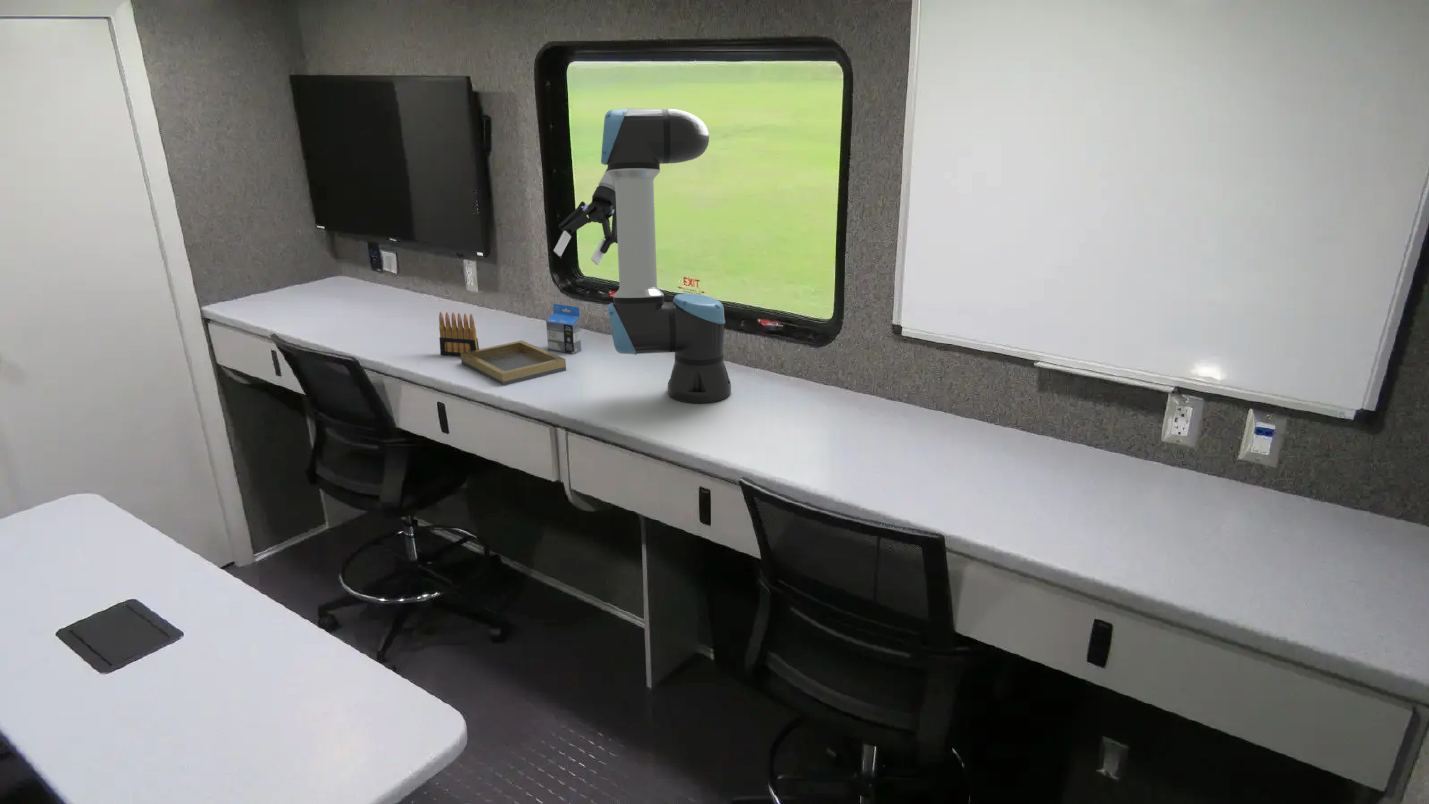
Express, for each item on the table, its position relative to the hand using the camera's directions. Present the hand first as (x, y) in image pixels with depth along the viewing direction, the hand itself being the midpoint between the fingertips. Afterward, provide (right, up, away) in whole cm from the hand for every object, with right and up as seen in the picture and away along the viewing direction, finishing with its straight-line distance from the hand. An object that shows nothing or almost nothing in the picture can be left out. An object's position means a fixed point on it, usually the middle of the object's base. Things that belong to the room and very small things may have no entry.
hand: (575, 258), depth 229 cm
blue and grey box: (-4, -25, +6) cm, 26 cm away
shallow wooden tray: (-15, -30, -8) cm, 34 cm away
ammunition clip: (-31, -26, +1) cm, 41 cm away
